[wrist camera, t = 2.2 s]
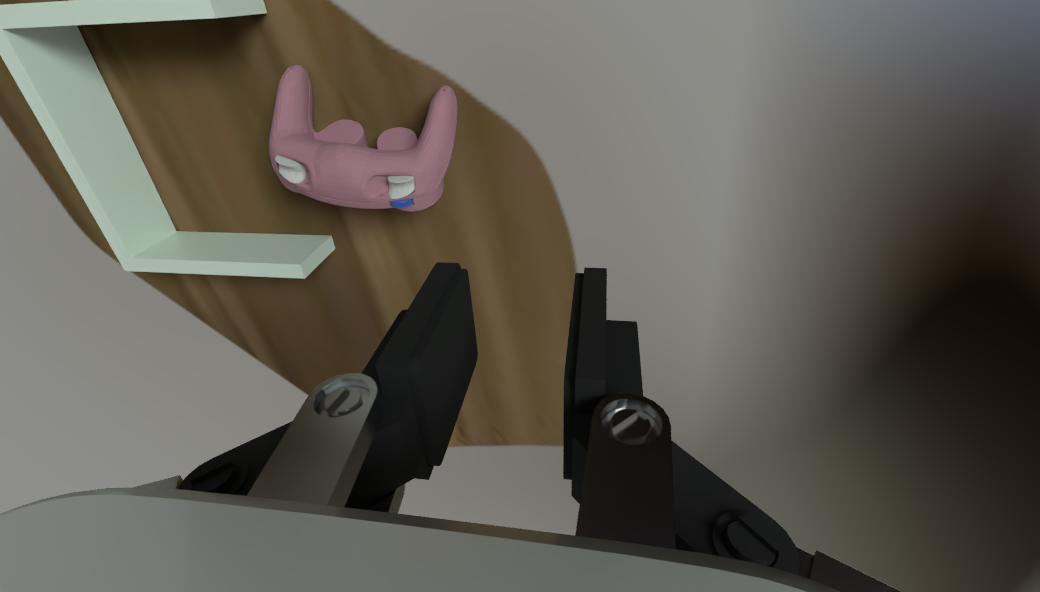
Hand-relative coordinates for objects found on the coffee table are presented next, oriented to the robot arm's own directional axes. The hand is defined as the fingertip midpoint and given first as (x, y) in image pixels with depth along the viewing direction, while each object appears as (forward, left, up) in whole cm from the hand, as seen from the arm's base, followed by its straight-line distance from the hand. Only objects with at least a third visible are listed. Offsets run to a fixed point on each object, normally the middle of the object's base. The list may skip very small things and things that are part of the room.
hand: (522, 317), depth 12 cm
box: (0, -22, -17) cm, 28 cm away
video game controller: (-1, -11, -17) cm, 21 cm away
